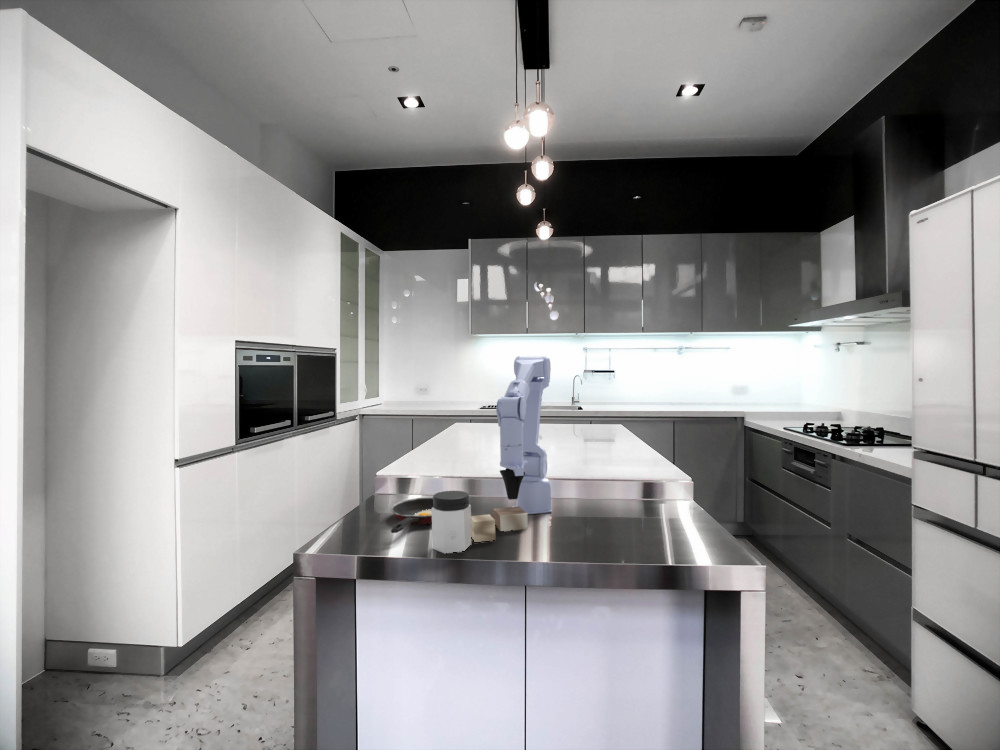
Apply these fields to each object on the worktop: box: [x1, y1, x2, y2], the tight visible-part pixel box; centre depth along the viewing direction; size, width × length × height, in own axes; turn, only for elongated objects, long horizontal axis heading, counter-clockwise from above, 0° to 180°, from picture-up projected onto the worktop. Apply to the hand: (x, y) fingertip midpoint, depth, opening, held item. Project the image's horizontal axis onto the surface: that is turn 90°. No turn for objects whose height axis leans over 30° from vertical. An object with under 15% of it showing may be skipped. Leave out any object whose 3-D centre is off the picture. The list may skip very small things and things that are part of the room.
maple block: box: [471, 514, 496, 543], centre depth 127 cm, size 5×5×5 cm
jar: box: [431, 490, 472, 554], centre depth 121 cm, size 9×8×12 cm
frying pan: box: [389, 496, 433, 534], centre depth 139 cm, size 19×32×4 cm, turn 169°
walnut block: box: [492, 505, 529, 532], centre depth 136 cm, size 7×4×7 cm
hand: (512, 498), depth 133 cm, fingers closed
